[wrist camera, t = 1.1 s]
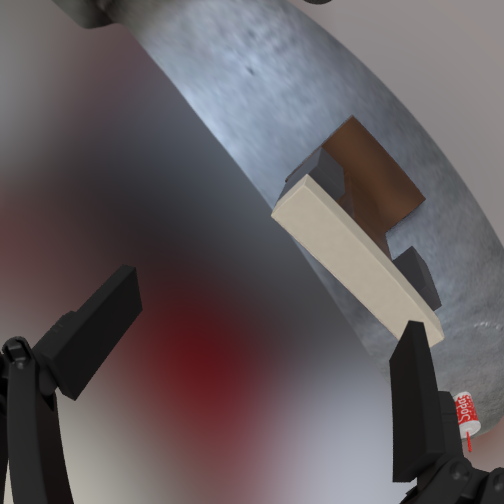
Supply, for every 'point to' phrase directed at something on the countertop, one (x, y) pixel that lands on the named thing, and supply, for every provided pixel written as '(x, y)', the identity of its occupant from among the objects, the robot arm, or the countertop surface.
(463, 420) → the beverage cup
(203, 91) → the countertop surface
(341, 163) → the headphone stand
